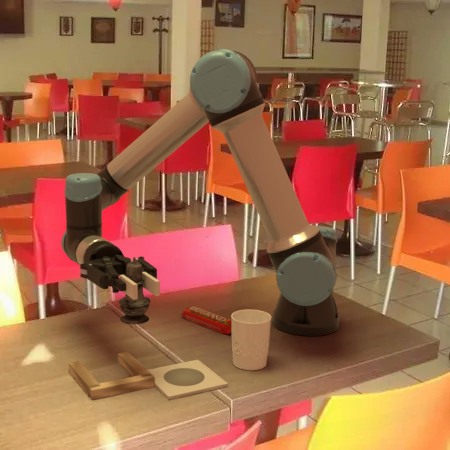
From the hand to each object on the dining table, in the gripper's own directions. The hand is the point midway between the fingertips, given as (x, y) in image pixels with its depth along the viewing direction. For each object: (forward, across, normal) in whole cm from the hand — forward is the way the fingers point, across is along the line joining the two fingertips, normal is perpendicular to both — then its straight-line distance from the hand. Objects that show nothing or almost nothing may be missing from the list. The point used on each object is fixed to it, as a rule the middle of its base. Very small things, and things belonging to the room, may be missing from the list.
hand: (146, 290), depth 127 cm
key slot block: (-7, +4, -19) cm, 21 cm away
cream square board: (0, -8, -19) cm, 20 cm away
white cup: (-1, -23, -19) cm, 30 cm away
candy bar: (-24, -25, -19) cm, 40 cm away
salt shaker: (-5, 0, -7) cm, 9 cm away
